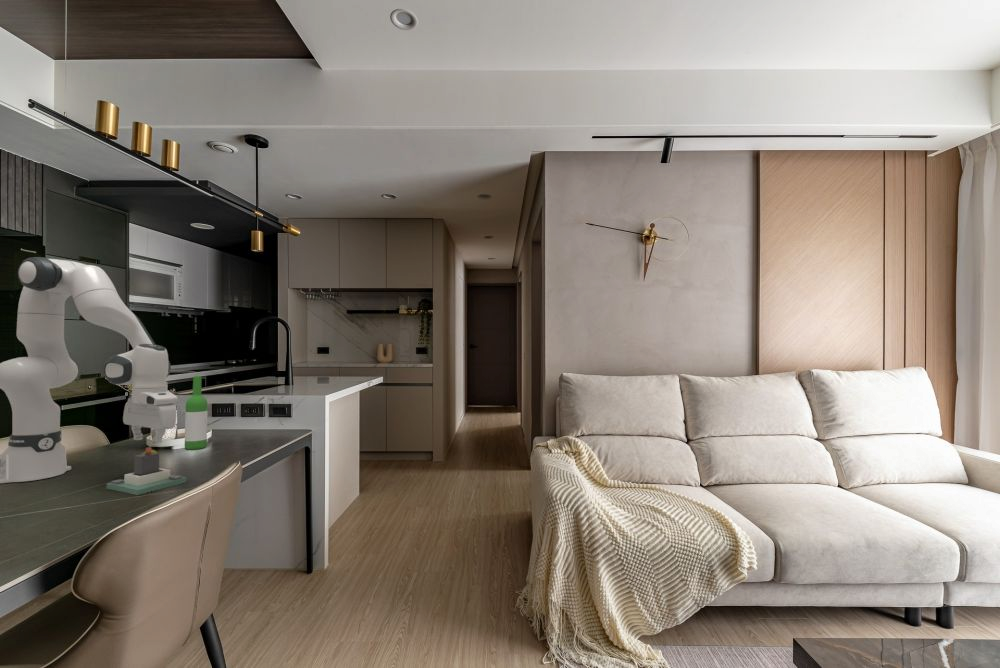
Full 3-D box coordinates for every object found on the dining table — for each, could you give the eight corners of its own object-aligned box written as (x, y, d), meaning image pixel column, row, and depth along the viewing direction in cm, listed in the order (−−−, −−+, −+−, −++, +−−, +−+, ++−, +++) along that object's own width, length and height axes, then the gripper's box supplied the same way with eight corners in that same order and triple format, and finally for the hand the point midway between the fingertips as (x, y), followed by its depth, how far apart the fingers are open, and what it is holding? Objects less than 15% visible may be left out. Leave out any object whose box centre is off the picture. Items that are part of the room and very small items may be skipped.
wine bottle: (190, 451, 190) (192, 377, 190) (180, 448, 194) (182, 376, 194) (210, 447, 196) (212, 376, 197) (200, 445, 200) (202, 375, 201)
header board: (106, 488, 141) (106, 475, 141) (156, 476, 153) (156, 464, 154) (137, 495, 135) (138, 481, 135) (186, 482, 148) (186, 469, 148)
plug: (133, 482, 142) (134, 449, 142) (153, 477, 148) (154, 445, 148) (140, 483, 141) (141, 450, 141) (161, 478, 146) (161, 446, 146)
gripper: (117, 395, 146) (115, 439, 145) (159, 399, 138) (157, 446, 138) (139, 393, 152) (137, 436, 151) (181, 397, 144) (179, 443, 143)
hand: (147, 441), depth 144 cm, fingers open, 8 cm apart
